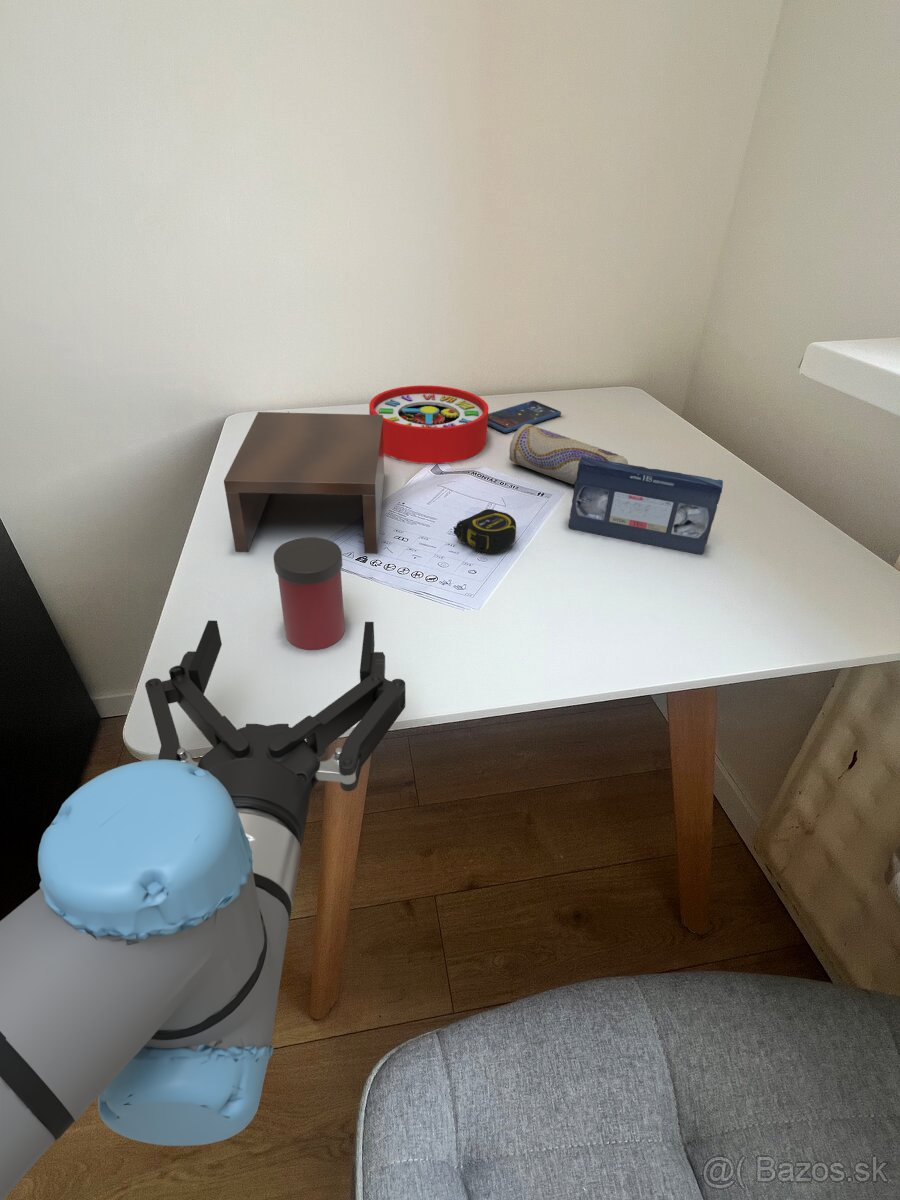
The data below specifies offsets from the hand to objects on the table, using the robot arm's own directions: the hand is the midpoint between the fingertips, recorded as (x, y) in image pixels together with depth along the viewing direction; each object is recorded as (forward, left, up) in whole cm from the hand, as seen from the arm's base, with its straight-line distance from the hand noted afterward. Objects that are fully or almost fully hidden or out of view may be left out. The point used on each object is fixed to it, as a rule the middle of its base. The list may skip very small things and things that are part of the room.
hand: (293, 632), depth 62 cm
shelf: (-3, +39, -9) cm, 40 cm away
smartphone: (+30, +75, -9) cm, 81 cm away
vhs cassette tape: (+41, +33, -9) cm, 53 cm away
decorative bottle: (+36, +48, -9) cm, 60 cm away
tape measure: (+20, +31, -9) cm, 38 cm away
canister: (0, +12, -9) cm, 15 cm away
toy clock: (+13, +65, -9) cm, 66 cm away
